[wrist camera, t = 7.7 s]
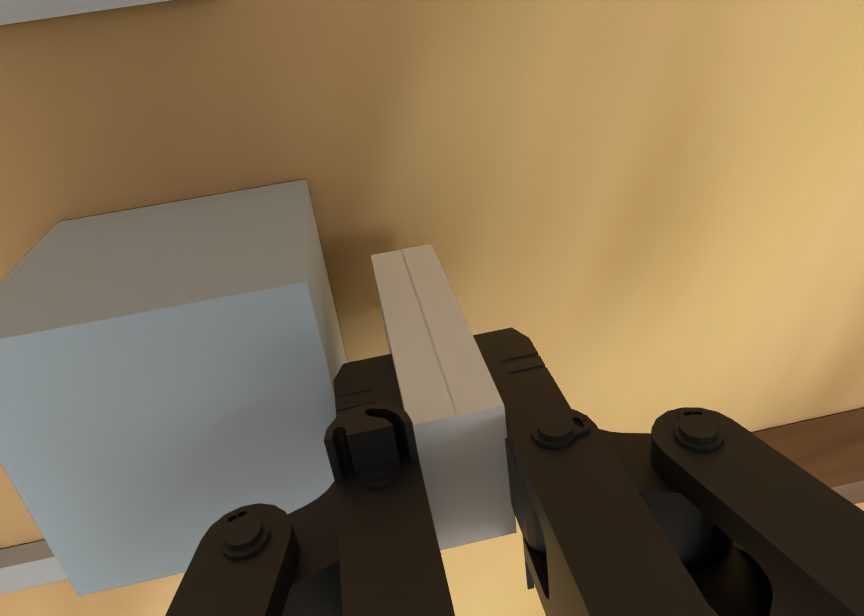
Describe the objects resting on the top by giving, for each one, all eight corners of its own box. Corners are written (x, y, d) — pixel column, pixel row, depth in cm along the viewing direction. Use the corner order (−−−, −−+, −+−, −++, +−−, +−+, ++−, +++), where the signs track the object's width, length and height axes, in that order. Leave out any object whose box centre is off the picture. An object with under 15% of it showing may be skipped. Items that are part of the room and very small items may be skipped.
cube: (57, 221, 16) (-65, 351, 11) (306, 179, 16) (306, 281, 11) (141, 418, 19) (78, 596, 13) (350, 376, 19) (367, 531, 14)
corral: (-428, 26, 13) (-471, 31, 12) (204, -61, 14) (199, -62, 13) (-37, 582, 20) (-49, 604, 20) (347, 499, 21) (349, 517, 21)
